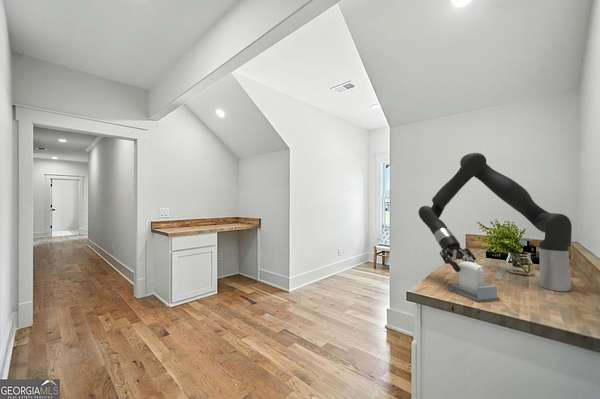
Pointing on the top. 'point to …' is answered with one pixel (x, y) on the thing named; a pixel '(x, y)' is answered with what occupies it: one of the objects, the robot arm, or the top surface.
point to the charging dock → (482, 293)
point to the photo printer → (471, 276)
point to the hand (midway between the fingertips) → (467, 270)
